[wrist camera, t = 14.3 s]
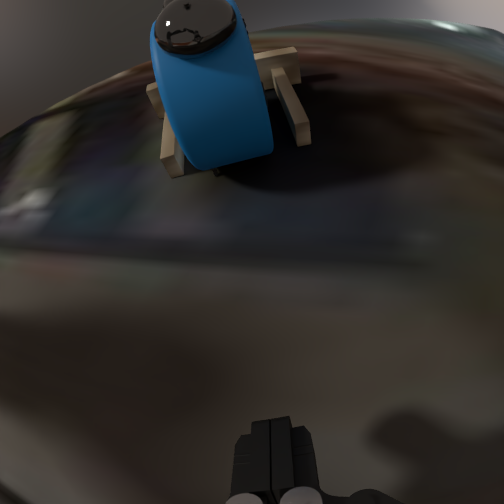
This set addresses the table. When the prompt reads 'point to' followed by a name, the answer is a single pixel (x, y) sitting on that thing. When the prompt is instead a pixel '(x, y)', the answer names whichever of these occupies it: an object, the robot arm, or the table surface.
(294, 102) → the wooden staple shape
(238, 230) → the table surface
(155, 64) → the alarm clock
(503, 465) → the table surface
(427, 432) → the table surface
